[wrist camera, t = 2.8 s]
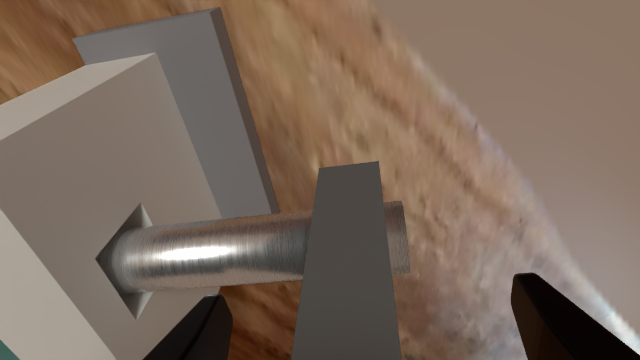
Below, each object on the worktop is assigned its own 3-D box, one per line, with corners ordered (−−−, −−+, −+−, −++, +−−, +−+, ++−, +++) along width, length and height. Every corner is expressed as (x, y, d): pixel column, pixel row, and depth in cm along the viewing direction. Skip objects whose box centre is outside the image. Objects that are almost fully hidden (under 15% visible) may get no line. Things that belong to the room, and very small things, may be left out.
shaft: (-53, 306, 16) (-300, 526, 10) (-153, 209, 13) (-570, 431, 7) (406, 273, 13) (452, 561, 7) (395, 140, 10) (454, 420, 4)
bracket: (195, 252, 21) (100, 440, 13) (91, 32, 15) (-204, 134, 7) (289, 244, 20) (248, 439, 12) (219, 7, 14) (49, 90, 6)
